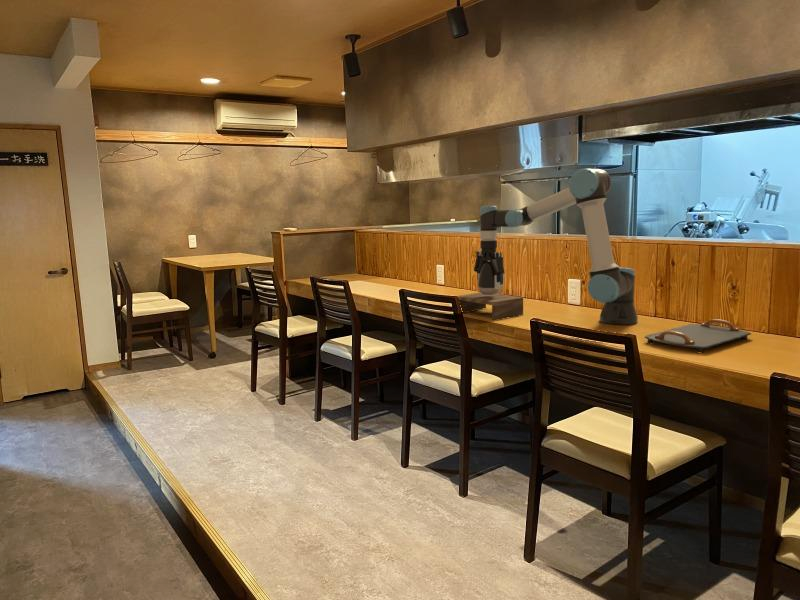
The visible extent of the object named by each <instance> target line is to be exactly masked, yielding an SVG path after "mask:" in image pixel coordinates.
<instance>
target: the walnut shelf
mask: <svg viewBox="0 0 800 600" xmlns="http://www.w3.org/2000/svg"><path fill="white" fill-rule="evenodd" d="M456 296H457V297H458V298H459V302H460V305H461V308H462V311H463V313H468V312H467V311H469V312H473V311H472V310H475V311H478V310H477V309H480V310H484V309H483V308H486V309H487V305H488V306H491V320H492V319H493V320H492V321H498V320H497V319H500V320H503V319H502V318H505V319H508V318H507V317H510V318H514V317H513V316H515V317H519V316H518V315H520V316H523V315H524V297H521V296H513V295H507V294H503V295H501V294H493V295H485V294H482V293H481V292H480V291H479V292H474V293H467V294H461V295H460V294H459V295H456Z"/></svg>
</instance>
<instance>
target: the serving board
mask: <svg viewBox="0 0 800 600" xmlns="http://www.w3.org/2000/svg"><path fill="white" fill-rule="evenodd" d="M712 323H716V324H717V323H718V324H719V323H720V324H724V325H727V326H728V327H726V326H720V325H710V324H712ZM751 335H752V333H751V331H746V330H742V329H740V328H739V327H736V326H735V325H734V324H733V323H732V322H731V321H728V320H725V319H719V318H713V319H709V320H707V321H705V323H704V322H702V323H701V324H699V323H690V324H685V325H682V326H677V327H672V328H669V329H666V330H662V331H658V332H655V333H650V334H647V335H644V336H643V337H644V339H646V340H647V342H648V343H653V342H656V343H662V344H665V345H669V346H670V345H673V346H678V347H686V348H691V349H695V352H696V351H697V352H703V353H704V349H708V348H711V347H715V346H718V345H722V344H725V343H729V342H731V341H735V340H738V339H739V340H740V339H741V338H742V339H741V340H747V339H748V336H751ZM648 343H647V344H648ZM653 344H654V343H653ZM697 352H696V353H697Z"/></svg>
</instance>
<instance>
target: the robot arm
mask: <svg viewBox="0 0 800 600" xmlns="http://www.w3.org/2000/svg"><path fill="white" fill-rule="evenodd" d="M611 186H612V178H611V176H610V175H609V173H608V172H607V171H606V170H604V169H602V168H590V167H586V168H581V169H579V170H576V171H575V172H574V173H573V174H572V176H571V177H570V179H569V182H568V187H567V188H564V189H563V190H560V191H558V192H556V193H553V194H552V195H549V196H547V197H545V198H542V199H540V200H537V201H536V202H534V203H531V204H529V205H526V206H524V207H522V208H518V209H516V208H515V209H501V210H499V209H498V207H497V205H483V206H481V207H480V210H479V211H480V214H479V220H480V221H479V222H480V224H479V225H480V232H479V233H480V235H479V239H480V249H481V250H478V251H477V250H476V253H475V254H476V256H475V257H476V258H475V262H474V263H475V264H474V267H473V272H476V273H477V274H476V276H477V277H476V279H477V280H478V279H479V274H480V271H481V268H482V266H483V264H484V263H485V262H486V261H488V260H489V261H490V262H491V263H492V266H493V268H494V271H495V273H496V274H495V290H496V289H500V282H501V274H503V275H504V274H505V269H504V262H503V263H502V258H501V257H502V251H498V252H497V247H498V241H497V239H498V228H515V227H516V228H518V227H522V226H523V227H524V226H525V227H527V226H528V225H531V224H532V223H533V222H535V221H537V220H540V219H542V218H545V217H547V216H549V215H552V214H554V213H557V212H560V211H561V210H563V209H566V208H569V207H571V206H573V205H576V206H577V207H578V208H580V210H581V213H582V218H583V219H582V220H583V223H584V230H585V231H584V232H585V234H586V235H585V236H586V240H587V246H588V250H589V251H588V252H589V256H590V263H591V267H590V269H589V271H588V274H589V281H588V284H587V291H588V293H589V296H590V297H591V298H592V299H593V300H594V301H596V302H598V303H603V306H602V309H601V312H600V315H599V322H601V323H604V324H610V325H618V324H623V326H625V325H635V324H637V323H638V322H639V321H638V320H639V319H638V318H639V317H638V313H637V311H636V307H635V283H636V282H635V281H636V272H635V269H634V268H630V267H620V266H619V265H618V264H617V263H615V259H614V253H613V249H612V244H611V239H610V232H609V227H608V222H607V217H606V210H605V205H604V203H605V202H606V201H607V194H608V193H609V191H610V189H611Z"/></svg>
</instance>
